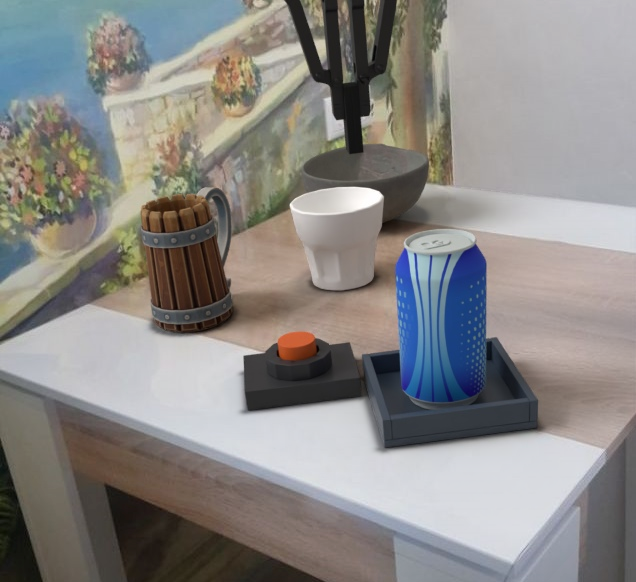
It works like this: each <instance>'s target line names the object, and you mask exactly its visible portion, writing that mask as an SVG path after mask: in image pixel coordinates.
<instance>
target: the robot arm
mask: <svg viewBox="0 0 636 582" xmlns="http://www.w3.org/2000/svg"><path fill="white" fill-rule="evenodd" d="M283 1H284V2H285V4H286V6H287V8H288V11H289V15H290V17H291V21H292V23H293V28H294V29H295V33H296V36H297V39H298V42H299V44H300V47H301V51H302V53H303V56H304V59H305V62H306V65H307V68H308V72H309V74H310V77H311V78H312V79H313V81H314V82H315V83H318V84H324V85H327V86H328V87H329V91H330V92H329V93H330V103H331V113H332V116H333V118H334V119H335V121H343V130H344V132H343V133H344V142H345V144H344V145H345V147H346V150H347V151H348V153H349V154H356V153H364V151H363V144H364V141H363V126H362V118H364V117H370V115H371V111H372V109H371V96H370V95H371V93H370V83H371V81H372V80H373V79H374V78H376V77H378V76H380V75H383V74H385V73H386V71H387V68H388V61H389V55H390V49H391V43H392V35H393V31H394V30H393V29H394V21H395V17H396V11H397V3H398V0H379V6H378V13H377V19H376V25H375V31H374V38H373V46H372V52H371V60H370V62H369V56H368V41H367V31H366V30H367V29H366V16H365V15H366V14H365V7H366V5H365V0H346V3H347V8H348V9H347V11H348V21H349V33H350V47H351V57H352V58H351V59H352V69H353V77H354V81H350V82H344V72H343V71H344V70H343V58H342V47H341V35H340V34H341V33H340V23H339V3H338V0H320V5H321V11H322V21H323V32H324V33H323V34H324V43H325V54H326V64H327V65H326V66H327V68H323V65H322V62H321V59H320V55H319V53H318V49H317V46H316V43H315V41H314V37H313V34H312V31H311V28H310V25H309V22H308V19H307V15H306V12H305V9H304V7H303V3H302V1H301V0H283Z"/></svg>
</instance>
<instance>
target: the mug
mask: <svg viewBox="0 0 636 582" xmlns="http://www.w3.org/2000/svg"><path fill="white" fill-rule="evenodd" d="M211 199H212V201H213V203H214V206H215V208H216V214H217V228H218V230H217V229H216V224H215V220H214V215H212V213H211V209H210V205H209V202H210V200H211ZM140 220H141V225H140V232H141V240H142V243H143V244H144V251H145V259H146V267H147V268H146V269H147V274H148V283H149V291H150V309H151V310H150V311H151V316H152V318H153V320H154V323H155V324H156V325H157V326H158V327H159V328H161V329H163V330H165V331H168V332H173V333H192V332H193V333H194V332H199V331H204V330H208V329H211V328H214V327H216V326H219V325H221V324H222V323H224V322H225V321H226V320H228V319H229V317H230V316H231V314H232V313H233V312H234V302H233V297H232V293H231V287H232V278H231V277H226V272H225V268H224V267H225V265H226V261H227V258H228V256H229V251H230V248H231V244H232V243H231V242H232V236H233V235H232V234H233V233H232V229H233V228H232V227H233V226H232V225H233V224H232V212H231V206H230V201H229V200H228V197H227V195H226V194H225V192H224V191H223V190H222V189H221V188H220V187H212V186H211V187H209V186H206V187H203V188H201V189H200V190H199V191H198V192H197V193H196V194H195V193H187V194H186V195H185V196H184V194H182V193H179V194H173V195H171V197H170V198H169V197H168V196H167V195H166V196H161V197H160V196H159V197H158V198H157V199H156V200H155V199H152V200H149V201H146V203H145V204H143V205H141V207H140ZM217 232H218V233H217ZM216 233H217V235H216Z"/></svg>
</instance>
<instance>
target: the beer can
mask: <svg viewBox="0 0 636 582" xmlns="http://www.w3.org/2000/svg"><path fill="white" fill-rule="evenodd" d="M403 247H404V248H403V250H402V252H401V253H400V256H399V257H398V259H397V261H396V262H395V263H396V264H395V267H394V269H395V270H394V272H395V273H394V274H395V290H396V291H395V292H396V309H397V329H398V350H400V369H401V386H402V389H403V391H404V392H405V393H406V394H407V395H408V396H409V397H410V399H411V401H412V402H413V403H414V404H416V405H417V406H419V407H421V408H424V409H428V410H436V409H444V408H452V407H459V406H467V405H470V404H472V403H473V402H474V401H475V400H476V399H477V398H478V395H479V394H480V393H481V392H482V391H483V389H484V388H485V386H486V339H487V295H488V294H487V284H488V283H487V281H488V280H487V279H488V278H487V276H488V275H487V273H488V272H487V269H488V267H487V265H488V264H487V260H486V257H485V255H484V254H483V252H482V251H481V250H480V248H479V246H478V245H477V237H476V235H475V234H473V233H472V232H469V231H467V230H463V229H455V228H437V229H430V230H423V231H419V232H416V233H413V234H411V235H409V236H408V237H406V238H405V240H404V241H403Z"/></svg>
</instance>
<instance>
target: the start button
mask: <svg viewBox="0 0 636 582" xmlns="http://www.w3.org/2000/svg"><path fill="white" fill-rule="evenodd" d="M315 338H316V336H315V335H314V333H312V332H309V331H303V330H302V331H300V330H299V331H292V332H289V333H285V334H283V335H280V336H279V337H278V339H277V343H278V349H279V356H280V358H281V359H284V360H292V361H295V360H303V359H307V358H309V357H312V356H315V355H316V353H317V349H316V340H315Z"/></svg>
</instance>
